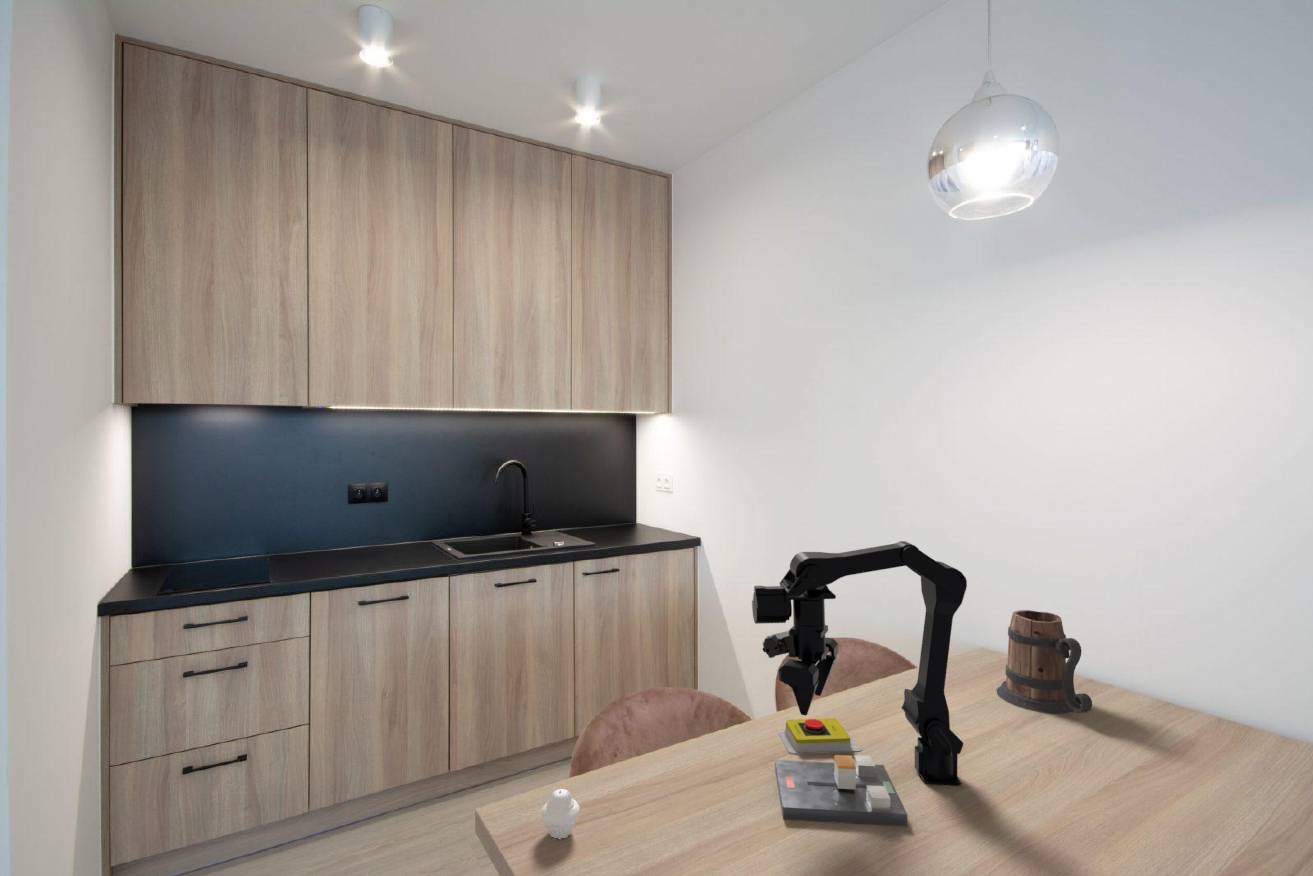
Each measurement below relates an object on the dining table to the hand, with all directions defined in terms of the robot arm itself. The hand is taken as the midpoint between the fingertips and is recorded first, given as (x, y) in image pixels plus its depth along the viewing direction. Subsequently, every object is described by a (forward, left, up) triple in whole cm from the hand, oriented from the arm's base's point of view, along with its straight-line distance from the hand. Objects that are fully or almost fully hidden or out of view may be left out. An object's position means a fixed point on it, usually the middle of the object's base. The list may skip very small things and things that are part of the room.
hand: (811, 704), depth 118 cm
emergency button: (-3, -13, -14) cm, 20 cm away
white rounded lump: (+43, +21, -14) cm, 49 cm away
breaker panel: (-3, +6, -13) cm, 15 cm away
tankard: (-59, -36, -14) cm, 71 cm away
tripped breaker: (-5, +6, -11) cm, 14 cm away
